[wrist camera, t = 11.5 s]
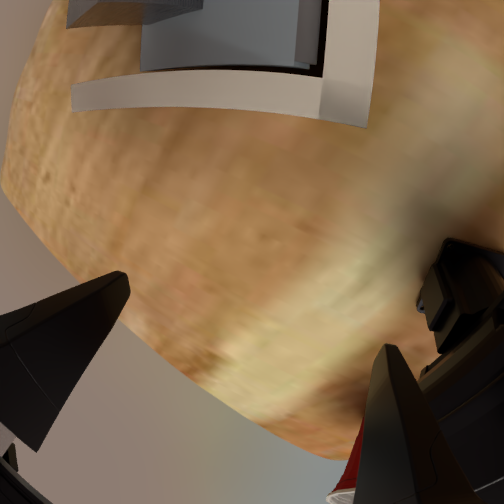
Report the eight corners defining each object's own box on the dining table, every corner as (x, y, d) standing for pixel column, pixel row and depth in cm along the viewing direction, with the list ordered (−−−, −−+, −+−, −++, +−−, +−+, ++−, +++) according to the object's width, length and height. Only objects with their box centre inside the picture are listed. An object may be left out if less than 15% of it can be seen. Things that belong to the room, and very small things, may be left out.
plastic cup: (355, 385, 28) (340, 493, 18) (444, 394, 25) (448, 493, 15) (331, 428, 33) (313, 510, 24) (406, 436, 31) (399, 515, 21)
